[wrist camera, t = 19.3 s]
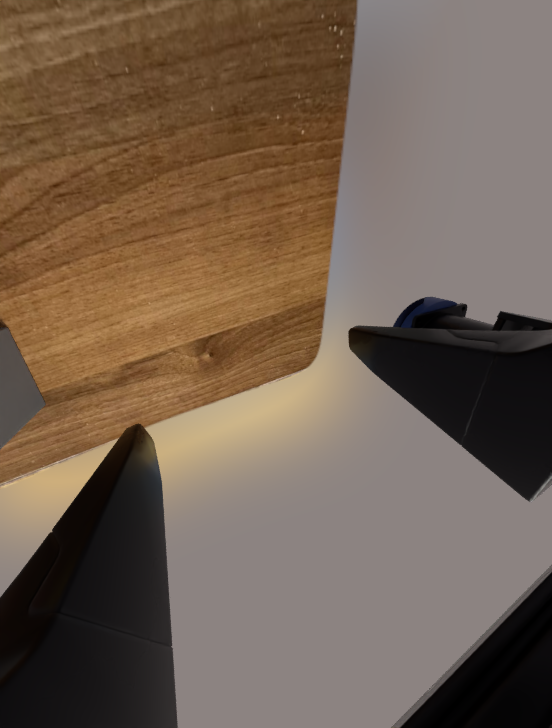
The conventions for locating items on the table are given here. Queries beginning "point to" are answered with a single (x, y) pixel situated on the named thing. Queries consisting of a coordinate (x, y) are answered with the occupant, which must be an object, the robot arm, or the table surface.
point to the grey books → (15, 389)
